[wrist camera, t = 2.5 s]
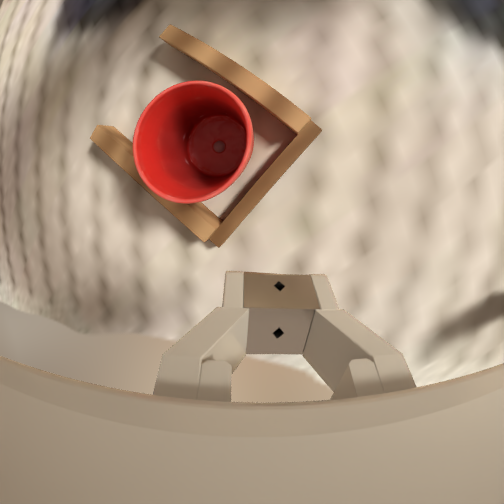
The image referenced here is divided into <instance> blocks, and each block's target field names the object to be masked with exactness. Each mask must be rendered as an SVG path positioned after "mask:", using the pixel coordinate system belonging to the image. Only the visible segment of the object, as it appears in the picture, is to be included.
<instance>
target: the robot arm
mask: <svg viewBox="0 0 504 504" xmlns="http://www.w3.org/2000/svg"><path fill="white" fill-rule="evenodd" d="M274 353H275V354H303V357H304V358H305V359H306V360H307V361H308V363H309V364H310V365H311V366H312V367H313V369H314V370H315V371H316V372H317V373H318V374H319V376H320V377H321V378H322V379H323V380H324V381H325V383H326V384H327V385H328V386H329V387H330V388H331V390H332V391H333V392H334V393H333V395H332V397H331V399H330V400H322V401H306V402H279V403H278V402H277V403H253V402H252V403H250V402H231V375H232V374H233V372H234V371H235V369H236V368H237V367H238V365H239V364H240V363H241V361H242V360H243V359H244V357H245V356H246V354H274ZM0 504H504V363H503V364H500V365H497V366H494V367H492V368H489V369H485V370H482V371H479V372H476V373H473V374H469V375H466V376H462V377H458V378H455V379H451V380H447V381H443V382H439V383H435V384H430V385H426V386H421V387H416V385H415V382H414V380H413V377H412V375H411V373H410V370H409V368H408V365H407V363H406V361H405V358H404V356H403V354H402V353H401V352H399V351H398V350H397V349H395V348H394V347H393V346H392V345H390V344H389V343H388V342H386V341H385V340H384V339H382V338H381V337H380V336H378V335H377V334H376V333H374V332H373V331H372V330H370V329H369V328H368V327H366V326H365V325H364V324H363V323H361V322H360V321H359V320H357V319H356V318H355V317H353V316H352V315H351V314H349V313H348V312H347V311H345V310H344V309H339V307H338V304H337V301H336V299H335V296H334V293H333V291H332V288H331V285H330V283H329V280H328V277H327V276H326V275H325V274H309V275H297V274H274V273H257V272H244V273H243V272H240V271H226V273H225V283H224V294H223V304H222V307H216V308H215V309H214V310H213V311H212V312H211V313H210V314H209V315H207V316H206V317H205V318H204V319H203V320H202V321H201V322H199V323H198V324H197V325H196V326H195V327H194V328H193V329H191V330H190V331H189V332H188V333H187V334H186V335H185V336H183V337H182V338H181V339H180V340H179V341H178V342H176V343H175V344H174V345H173V346H172V347H171V348H170V349H168V350H167V351H166V352H165V353H164V354H163V355H162V359H161V362H160V367H159V371H158V375H157V379H156V383H155V388H154V392H153V395H151V394H144V393H138V392H131V391H126V390H120V389H115V388H110V387H105V386H101V385H96V384H92V383H87V382H83V381H79V380H75V379H71V378H67V377H63V376H60V375H56V374H53V373H50V372H46V371H43V370H40V369H37V368H34V367H31V366H27V365H25V364H22V363H19V362H16V361H13V360H10V359H8V358H5V357H3V356H0Z"/></svg>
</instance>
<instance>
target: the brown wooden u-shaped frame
mask: <svg viewBox="0 0 504 504" xmlns="http://www.w3.org/2000/svg"><path fill="white" fill-rule="evenodd" d="M159 37H160V38H161V39H163V40H164V41H165V42H167V43H168V44H169V45H171V46H172V47H174V48H176V49H177V50H179V51H181V52H182V53H184V54H186V55H187V56H189V57H190V58H192V59H194V60H195V61H197V62H198V63H200V64H202V65H203V66H205V67H206V68H208V69H209V70H211V71H212V72H214V73H215V74H217V75H218V76H220V77H221V78H223V79H224V80H226V81H227V82H229V83H230V84H231V85H233V86H234V87H236V88H237V89H239V90H240V91H241V92H243V93H244V94H245V95H247V96H248V97H250V98H251V99H252V100H254V101H255V102H256V103H258V104H259V105H260V106H262V107H263V108H264V109H266V110H267V111H268V112H269V113H271V114H272V115H273V116H275V117H276V118H277V119H278V120H280V121H281V122H282V123H283V124H285V125H286V126H287V127H288V128H290V129H291V130H292V131H293V132H294V133H296V134H297V136H296V137H295V138H294V139H293V141H292V142H291V143H290V144H289V145H288V146H287V147H286V148H285V150H284V151H283V152H282V153H281V154H280V155H279V156H278V158H277V159H276V160H275V161H274V162H273V163H272V164H271V166H270V167H269V168H268V169H267V170H266V171H265V173H264V174H263V175H262V176H261V177H260V178H259V179H258V181H257V182H256V183H255V184H254V185H253V186H252V188H251V189H250V190H249V191H248V192H247V194H246V195H245V196H244V197H243V198H242V199H241V201H240V202H239V203H238V204H237V205H236V207H235V208H234V209H233V210H232V211H231V213H230V214H229V215H228V216H227V217H226V219H225V220H224V221H222V220H221V219H220V218H218V217H217V216H216V215H215V214H214V213H213V212H212V211H210V210H209V209H208V208H207V207H206V206H205V205H204V204H202V203H201V202H197V203H189V204H183V203H175V202H171V201H168V200H166V199H163V198H161V197H160V196H158V195H157V194H155V193H154V192H153V191H152V190H150V189H149V188H148V187H147V185H146V184H145V183H144V182H143V180H142V179H141V177H140V175H139V173H138V171H137V168H136V165H135V162H134V157H133V143H132V142H131V141H130V140H128V139H127V138H126V137H125V136H124V135H123V134H122V133H120V132H119V131H118V130H117V129H116V128H115V127H113V126H103V125H97V127H96V128H95V130H94V132H93V134H92V135H91V137H90V139H91V140H92V141H93V142H94V143H95V144H96V145H98V146H99V147H100V148H101V149H102V150H103V151H104V152H105V153H106V154H107V155H108V156H109V157H110V158H111V159H112V160H114V161H115V162H116V163H117V164H118V165H119V166H120V167H121V168H122V169H123V170H124V171H125V172H127V173H128V174H129V175H130V176H131V177H132V178H133V179H134V180H135V181H136V182H137V183H138V184H140V185H141V186H142V187H143V188H144V189H145V190H146V191H147V192H148V193H149V194H151V195H152V196H153V197H154V198H155V199H156V200H157V201H158V202H159V203H160V204H162V205H163V206H164V207H165V208H166V209H167V210H168V211H169V212H170V213H172V214H173V215H174V216H175V217H176V218H177V219H178V220H179V221H181V222H182V223H183V224H184V225H185V226H186V227H187V228H188V229H190V230H191V231H192V232H193V233H194V234H195V235H196V236H197V237H199V238H200V239H201V240H202V241H203V242H206V241H207V240H208V239H209V240H210V241H211V242H213V243H214V244H215V245H216V246H217V247H218V248H219V247H220V246H221V245H222V244H223V243H224V242H225V241H226V240H227V239H228V237H229V236H230V235H231V234H232V233H233V232H234V230H235V229H236V228H237V227H238V226H239V225H240V223H241V222H242V221H243V220H244V219H245V218H246V216H247V215H248V214H249V213H250V212H251V211H252V209H253V208H254V207H255V206H256V205H257V204H258V203H259V201H260V200H261V199H262V198H263V197H264V196H265V194H266V193H267V192H268V191H269V190H270V189H271V188H272V186H273V185H274V184H275V183H276V182H277V181H278V180H279V179H280V177H281V176H282V175H283V174H284V173H285V172H286V171H287V169H288V168H289V167H290V166H291V165H292V164H293V163H294V162H295V160H296V159H297V158H298V157H299V156H300V155H301V154H302V153H303V152H304V150H305V149H306V148H307V147H308V146H309V145H310V144H311V143H312V142H313V140H314V139H315V138H316V137H317V136H318V135H319V134H320V133H321V131H322V129H321V128H319V127H318V126H317V125H316V124H315V123H314V122H312V121H311V117H309V116H308V115H307V114H306V113H304V112H303V111H302V110H301V109H299V108H298V107H297V106H296V105H294V104H293V103H292V102H291V101H289V100H288V99H287V98H285V97H284V96H283V95H281V94H280V93H279V92H277V91H276V90H275V89H273V88H272V87H271V86H269V85H268V84H267V83H265V82H264V81H262V80H261V79H260V78H258V77H257V76H255V75H254V74H252V73H251V72H249V71H248V70H246V69H245V68H243V67H242V66H240V65H239V64H237V63H236V62H234V61H233V60H231V59H230V58H228V57H226V56H225V55H223V54H222V53H220V52H218V51H217V50H215V49H214V48H212V47H210V46H208V45H207V44H205V43H203V42H202V41H200V40H198V39H196V38H195V37H193V36H191V35H189V34H187V33H186V32H184V31H182V30H180V29H178V28H176V27H174V26H172V25H169V26H168V27H167V28H166V29H165V30H164V32H163V33H162V34H161V35H160V36H159Z"/></svg>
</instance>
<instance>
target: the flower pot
mask: <svg viewBox="0 0 504 504" xmlns="http://www.w3.org/2000/svg"><path fill="white" fill-rule="evenodd" d="M253 145H254V134H253V126H252V122H251V118H250V115H249V113H248V111H247V109H246V107H245V106H244V104H243V103H242V101H241V100H240V99H239V98H238V97H237V96H236V95H235V94H234V93H232V92H231V91H230V90H228V89H227V88H225V87H223V86H221V85H218V84H215V83H212V82H207V81H188V82H183V83H179V84H176V85H173V86H171V87H169V88H167V89H166V90H164V91H162V92H161V93H160V94H158V95H157V96H156V97H155V98H154V99H153V100H152V101H151V102H150V103H149V104H148V106H147V107H146V108H145V110H144V111H143V113H142V114H141V116H140V118H139V120H138V123H137V125H136V128H135V132H134V137H133V157H134V162H135V165H136V168H137V171H138V173H139V175H140V177H141V179H142V180H143V182H144V183H145V184H146V185H147V187H148V188H149V189H150V190H152V191H153V192H154V193H155V194H157V195H158V196H160V197H161V198H163V199H166V200H168V201H171V202H175V203H183V204H189V203H197V202H202V201H205V200H208V199H210V198H213V197H215V196H216V195H218V194H220V193H222V192H223V191H224V190H226V189H227V188H228V187H229V186H230V185H232V184H233V183H234V182H235V181H236V179H237V178H238V177H239V176H240V175H241V173H242V172H243V171H244V169H245V167H246V165H247V164H248V162H249V160H250V158H251V155H252V151H253Z"/></svg>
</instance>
